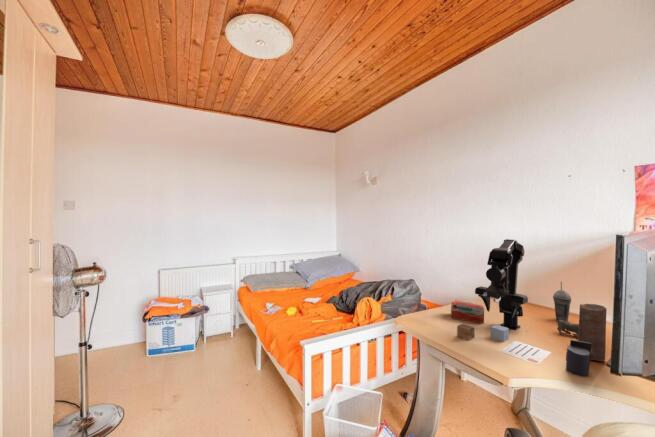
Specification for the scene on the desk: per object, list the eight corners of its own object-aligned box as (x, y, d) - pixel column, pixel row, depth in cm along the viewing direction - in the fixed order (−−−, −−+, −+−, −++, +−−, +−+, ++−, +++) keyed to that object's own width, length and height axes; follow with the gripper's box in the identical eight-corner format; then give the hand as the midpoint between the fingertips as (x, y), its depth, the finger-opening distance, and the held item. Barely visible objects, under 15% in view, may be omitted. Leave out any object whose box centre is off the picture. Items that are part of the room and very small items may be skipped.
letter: (515, 341, 113) (515, 340, 113) (551, 353, 104) (551, 352, 104) (499, 351, 104) (499, 351, 104) (537, 365, 94) (537, 364, 94)
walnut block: (463, 334, 120) (463, 323, 120) (474, 338, 116) (474, 327, 116) (457, 337, 117) (457, 325, 117) (468, 341, 113) (468, 329, 113)
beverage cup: (556, 321, 137) (556, 282, 137) (550, 317, 144) (550, 280, 144) (574, 324, 134) (574, 284, 134) (567, 319, 141) (567, 281, 141)
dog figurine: (556, 334, 122) (556, 317, 122) (558, 330, 126) (558, 314, 126) (593, 343, 113) (592, 325, 113) (593, 339, 117) (593, 322, 117)
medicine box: (484, 319, 140) (484, 303, 140) (484, 324, 133) (484, 308, 133) (452, 313, 147) (452, 299, 147) (450, 318, 140) (451, 303, 140)
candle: (611, 365, 95) (612, 309, 95) (588, 363, 97) (588, 307, 97) (594, 354, 103) (594, 302, 103) (572, 353, 104) (573, 301, 104)
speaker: (566, 363, 95) (568, 336, 94) (589, 371, 91) (591, 342, 90) (563, 373, 90) (565, 344, 89) (587, 382, 86) (590, 352, 85)
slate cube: (495, 335, 119) (495, 324, 119) (508, 339, 115) (508, 328, 115) (490, 338, 116) (490, 327, 116) (503, 342, 112) (503, 330, 112)
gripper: (469, 276, 119) (468, 311, 119) (518, 285, 104) (517, 325, 104) (480, 274, 125) (480, 307, 125) (528, 281, 110) (528, 319, 110)
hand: (499, 314), depth 116 cm, fingers open, 9 cm apart
